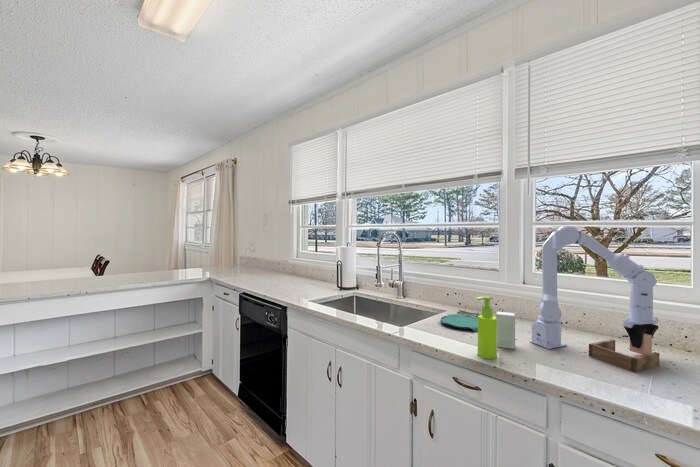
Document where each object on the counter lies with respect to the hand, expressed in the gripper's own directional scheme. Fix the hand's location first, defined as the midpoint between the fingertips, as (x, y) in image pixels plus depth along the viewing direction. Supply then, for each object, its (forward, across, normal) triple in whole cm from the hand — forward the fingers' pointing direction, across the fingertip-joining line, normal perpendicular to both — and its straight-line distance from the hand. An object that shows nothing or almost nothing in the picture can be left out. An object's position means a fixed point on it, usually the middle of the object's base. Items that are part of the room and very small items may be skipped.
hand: (640, 346), depth 104 cm
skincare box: (+4, -34, +23) cm, 41 cm away
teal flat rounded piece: (+4, -27, +52) cm, 59 cm away
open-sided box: (+3, -8, 0) cm, 9 cm away
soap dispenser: (+4, -47, +19) cm, 51 cm away
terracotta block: (+2, 0, 0) cm, 2 cm away
